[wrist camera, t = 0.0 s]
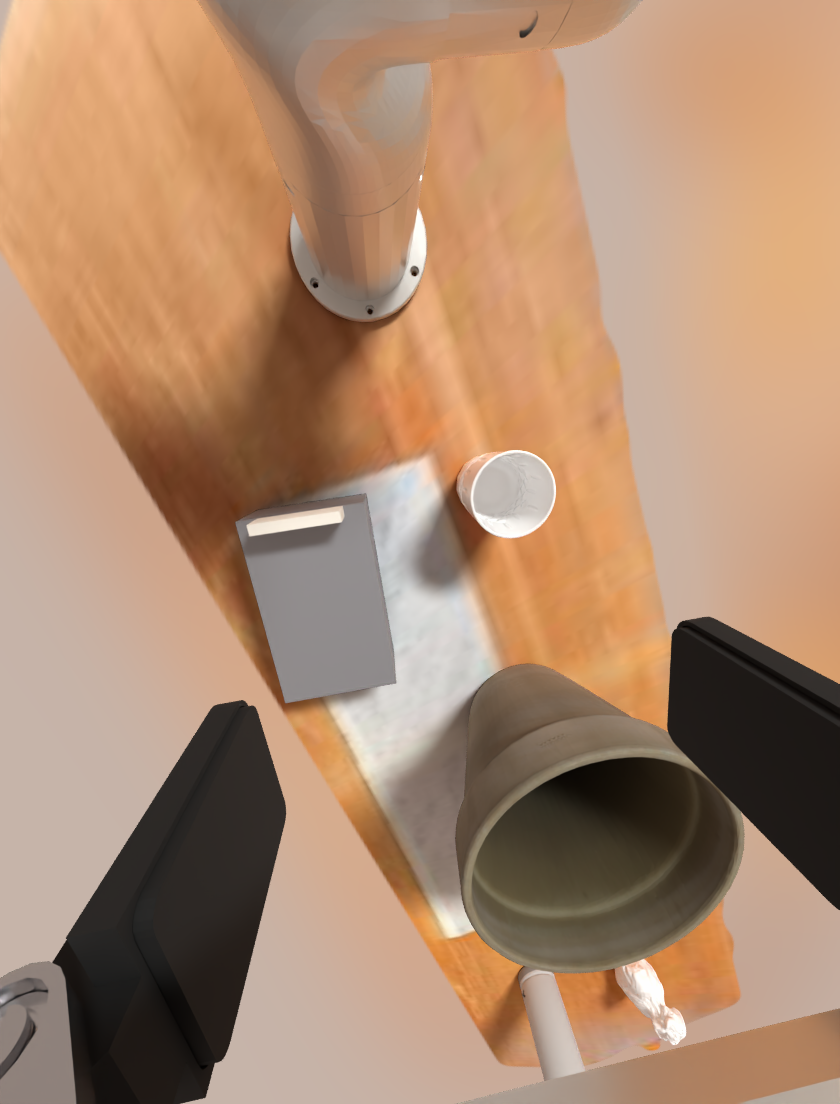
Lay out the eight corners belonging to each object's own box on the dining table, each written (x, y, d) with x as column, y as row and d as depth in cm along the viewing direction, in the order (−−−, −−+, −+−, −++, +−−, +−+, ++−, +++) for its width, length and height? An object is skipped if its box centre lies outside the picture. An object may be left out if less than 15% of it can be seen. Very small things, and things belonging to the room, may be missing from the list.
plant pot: (393, 693, 51) (402, 867, 30) (554, 589, 49) (683, 697, 28) (489, 808, 58) (551, 1015, 37) (633, 721, 56) (783, 886, 35)
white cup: (456, 524, 45) (476, 545, 36) (445, 455, 43) (464, 459, 34) (521, 511, 46) (559, 529, 36) (514, 442, 44) (552, 442, 34)
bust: (630, 964, 75) (700, 1016, 66) (615, 1010, 70) (688, 1072, 62) (616, 927, 71) (687, 977, 63) (599, 972, 67) (674, 1032, 58)
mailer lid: (237, 520, 37) (222, 528, 33) (363, 501, 37) (362, 507, 34) (286, 699, 42) (278, 722, 39) (395, 680, 43) (397, 700, 39)
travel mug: (509, 978, 69) (559, 1185, 49) (534, 955, 68) (596, 1158, 48) (533, 989, 70) (590, 1195, 51) (558, 968, 69) (627, 1169, 50)
